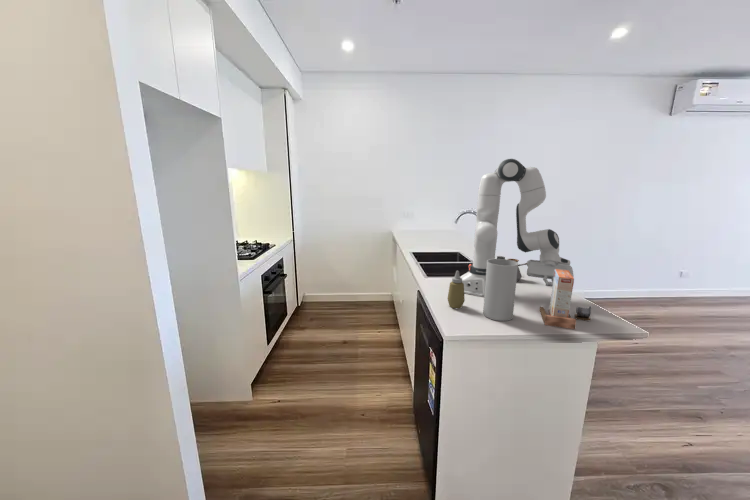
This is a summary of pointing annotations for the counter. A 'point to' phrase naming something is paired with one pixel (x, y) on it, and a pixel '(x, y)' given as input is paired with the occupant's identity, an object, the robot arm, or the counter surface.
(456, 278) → the squeeze bottle
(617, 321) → the counter surface
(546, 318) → the bay
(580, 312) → the winch drum
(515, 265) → the cylinder vase
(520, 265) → the coffee pot
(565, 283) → the cracker box
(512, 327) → the counter surface
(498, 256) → the supplement bottle
